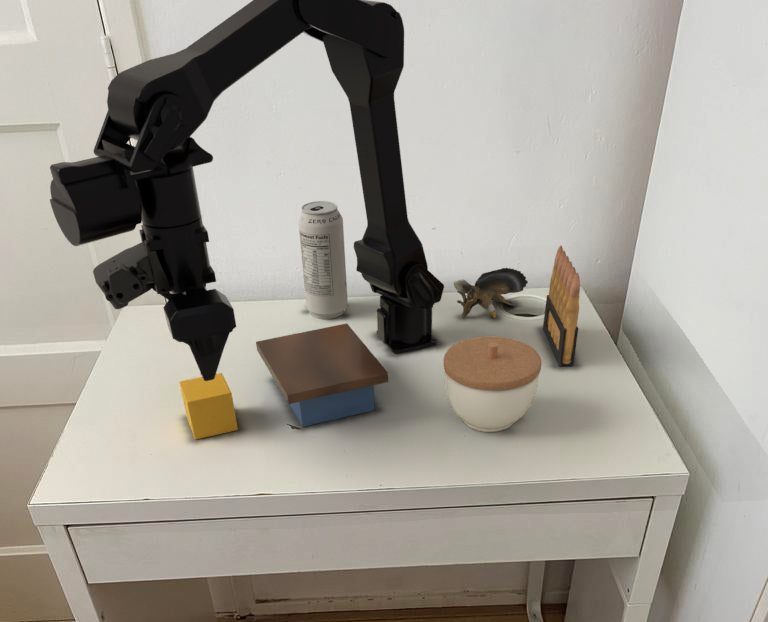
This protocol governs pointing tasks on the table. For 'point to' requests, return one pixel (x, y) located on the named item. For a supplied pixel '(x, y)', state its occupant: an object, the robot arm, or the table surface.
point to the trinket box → (491, 381)
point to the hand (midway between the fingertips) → (200, 360)
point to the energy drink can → (323, 259)
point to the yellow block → (208, 406)
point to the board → (320, 363)
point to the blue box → (334, 406)
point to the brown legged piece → (490, 289)
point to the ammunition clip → (562, 310)
